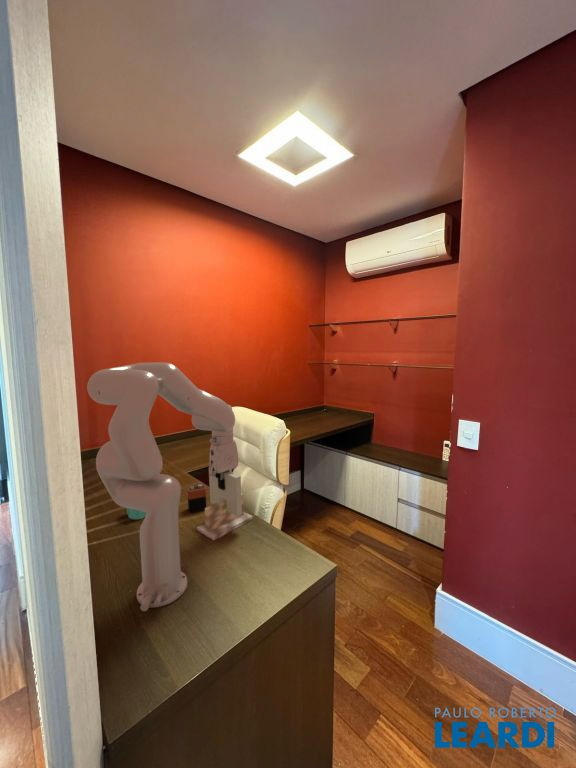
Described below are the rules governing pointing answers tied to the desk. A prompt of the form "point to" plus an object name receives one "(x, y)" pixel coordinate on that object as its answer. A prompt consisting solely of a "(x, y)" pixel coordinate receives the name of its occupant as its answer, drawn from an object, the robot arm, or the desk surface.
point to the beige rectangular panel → (227, 492)
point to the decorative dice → (135, 514)
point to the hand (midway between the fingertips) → (224, 487)
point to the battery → (196, 498)
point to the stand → (221, 521)
